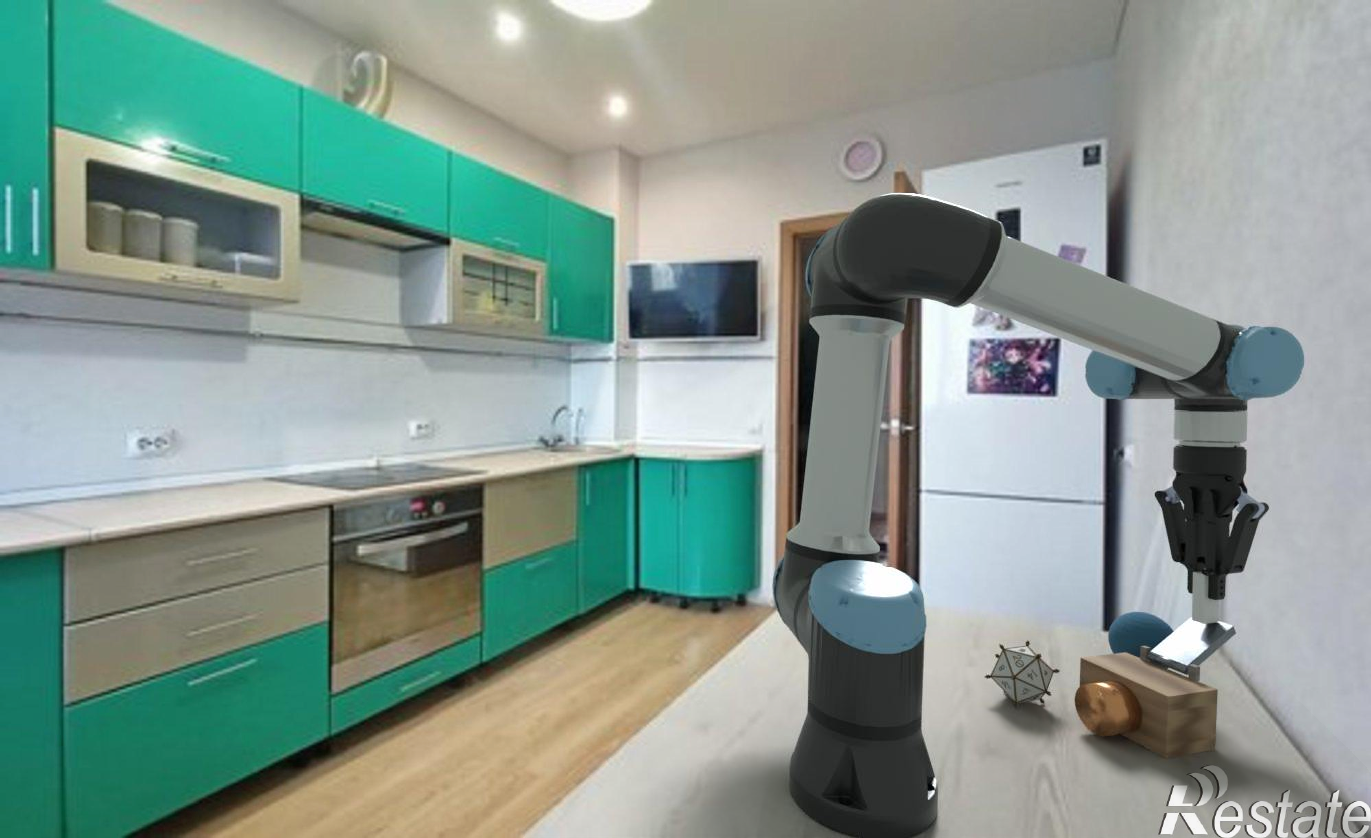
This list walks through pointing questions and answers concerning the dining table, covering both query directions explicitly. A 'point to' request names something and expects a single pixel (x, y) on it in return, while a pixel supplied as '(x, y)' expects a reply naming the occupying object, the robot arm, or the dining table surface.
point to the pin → (1108, 708)
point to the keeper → (1191, 644)
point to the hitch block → (1161, 702)
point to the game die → (1022, 674)
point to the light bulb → (1137, 633)
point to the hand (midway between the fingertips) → (1205, 620)
